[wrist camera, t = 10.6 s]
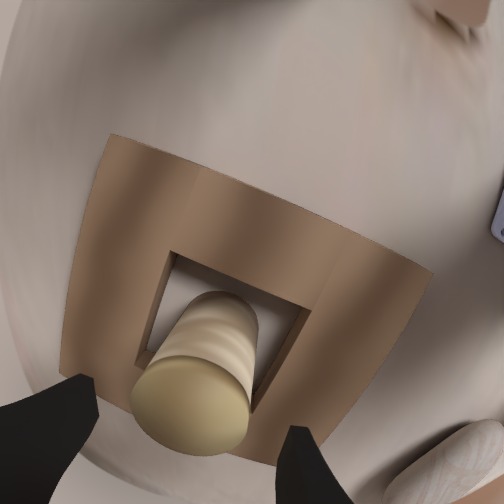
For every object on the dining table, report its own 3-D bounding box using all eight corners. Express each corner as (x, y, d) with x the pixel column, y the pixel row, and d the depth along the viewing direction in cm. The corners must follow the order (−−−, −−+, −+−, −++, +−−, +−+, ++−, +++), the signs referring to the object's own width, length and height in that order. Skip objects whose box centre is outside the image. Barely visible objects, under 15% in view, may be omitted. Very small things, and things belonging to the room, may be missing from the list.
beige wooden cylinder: (264, 298, 17) (257, 385, 9) (251, 364, 18) (238, 464, 10) (187, 283, 17) (127, 355, 9) (180, 350, 18) (133, 439, 10)
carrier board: (418, 264, 16) (433, 273, 14) (296, 452, 20) (297, 471, 18) (127, 138, 16) (110, 133, 14) (73, 359, 19) (59, 372, 17)
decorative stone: (399, 501, 21) (409, 534, 16) (357, 478, 20) (367, 521, 15) (499, 428, 19) (521, 458, 14) (479, 390, 18) (508, 425, 13)
